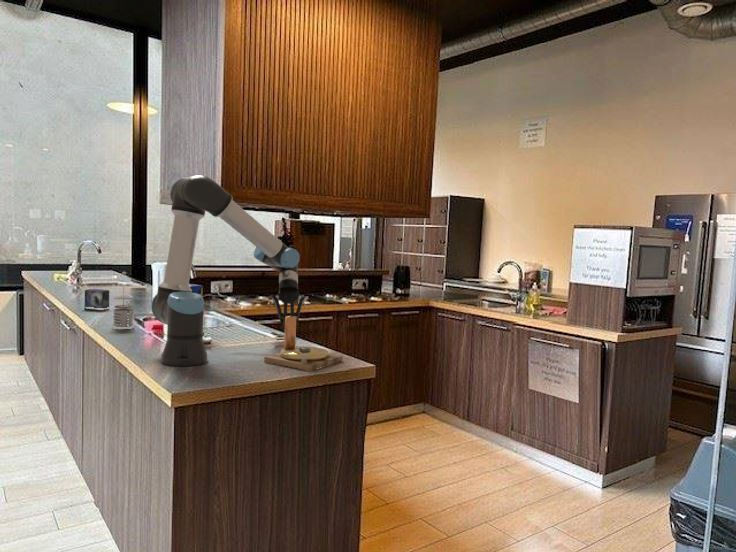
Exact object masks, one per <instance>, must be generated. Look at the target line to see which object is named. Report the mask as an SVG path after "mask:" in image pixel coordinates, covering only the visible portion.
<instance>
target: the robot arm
mask: <svg viewBox="0 0 736 552" xmlns="http://www.w3.org/2000/svg"><path fill="white" fill-rule="evenodd" d="M169 197H170V200H171V202H172V204H171V207H170V209H171V210H170V211H171V213H172V214H173V215H174V218H173V225H172V229H171V230H172V231H171V235H170V241H169V248H168V253H167V260H166V266H165V267H166V268H165V270H164V271H165V272H164V278H163V281H162V282H161V283H160V284H159V285H158V287H157V292H156V294H155V295H154V297H153V298H152V300H151V304H150V305H151V306H150V309H151V313H152V314H153V316H154V318H155V319H156V320H158V322H160V323H162V324H164V325H166V326H167V328H166V329H167V331H166V333H167V335H166V342H165V345H164V347H163V351H162V353H161V357H160V358H161V359H160V363H162V364H163V365H167V366H173V367H192V366H193V367H194V366H198V365H200V366H201V365H202V364H205V363H207V362H208V352H207V350H206V345H205V342H204V315H205V314H204V313H205V312H204V311H205V303H204V302H205V299H204V298H203V295H202V296H201V295H199V294H197V293H192V289H191V288H190V287H189V284H190V278H191V273H192V272H191V271H192V265H193V260H194V253H195V248H196V241H197V235H198V230H199V223H200V221H201V220H202V219H203V218H204V217H205V214H206V212H207V213H208V214H211V216H212V217H214V218H218V217H219V218H220V219H221V220H222V221H223V222H225V223H226V224H227V225H229V226H230V227H231V228H232V229H234V230H235V231H236V232H237V233H239V234H240V235H241V236H242V237H244V239H246V240H247V241H249V242H250V243H251V244H252V245H254V246H255V249H254V251H253V257H254V259H256V260H257V261H259V262H261V263H263V264H264V265H267V266H268V267H271V268H273V269H274V270H276V271H277V272H278V283H279V285H278V293H277V295H272V297H271V298H272V301H271V302H273V304H274V306H275V310H276V312H277V316H278V318H279V320H281V319H282V320H283V327H284V328H285V316H288V304H289V309H290V310H289V311H290V313H289V314H290V315H289V316H296V320H298V319H299V316H300V312H301V309H302V307H303V305H304V303H305V300H306V296H301V295H300V292H299V275H298V274H299V272H298V271H299V262H300V253H299V252H298V250H297V249H295V248H292V247H288V246H287V245H286V244H285V243H284V242H282V241H281V240H280V239H278V238H277V237H276V236H275V235H274V234H273V233H271V232H270V231H269V230H268V228H266V227H265V226H264V225H262V224H261V223H260V222H259V221H257V219H255V218H254V217H253V216H251V214H249V213H248V212H247V211H246V210H245V209H243V207H241V206H240V205H239V204H238V203H236V202H235V201H234V200H233V195H231V194H230V193H229V192H228V191H227V190H225V189H224V187H222V186H221V185H220V184H219V183H217V182H216V181H215V180H213V179H212V178H210V177H208V176H205V175H192V176H184V177H183V176H182V177H181V178H179V179H177V180H176V181H174V182H173V184H172V185H171V187H170V190H169ZM279 300H280V301H281V302H282V303H283V312H282V308H281V305H280V302H279ZM297 300H298V305H297V308H296V312H295V303H296V302H297Z"/></svg>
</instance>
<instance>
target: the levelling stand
mask: <svg viewBox="0 0 736 552" xmlns="http://www.w3.org/2000/svg"><path fill="white" fill-rule="evenodd" d="M280 353H281V352H278V353H273V354H269V355H266V356H264V363H266V364H267V363H268V364H270V363H271V365H275V364H276V365H277V366H280V365H282V366H281V367H285V366H288V367H287V368H290V367H294V368H293V369H295V368H299V369H298V370H300V369H303V370H302V371H305V370H309V371H308V372H310V371H311V372H313V371H312V370H314V371H316V370H315V369H317V368H320V367H323V368H325V367H324V366H326V367H328V366H327V365H329V366H331V365H330V364H332V365H334V364H333V363H335V364H337V363H336V362H338V363H340V362H339V361H341V362H343V359H344V358H343V355H339V354H334V353H329V352H328V357H327V358H326V359H322V360H316V361H307V354H304V353H301V361H297V360H290V359H286V358H283V357H281V355H280ZM320 369H321V368H320ZM317 370H318V369H317Z"/></svg>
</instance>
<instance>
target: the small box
mask: <svg viewBox="0 0 736 552" xmlns="http://www.w3.org/2000/svg"><path fill="white" fill-rule="evenodd" d="M85 307H94V308H107V307H109V308H110V290H109V289H99V288H90V289H85V290H84V308H85Z"/></svg>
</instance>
